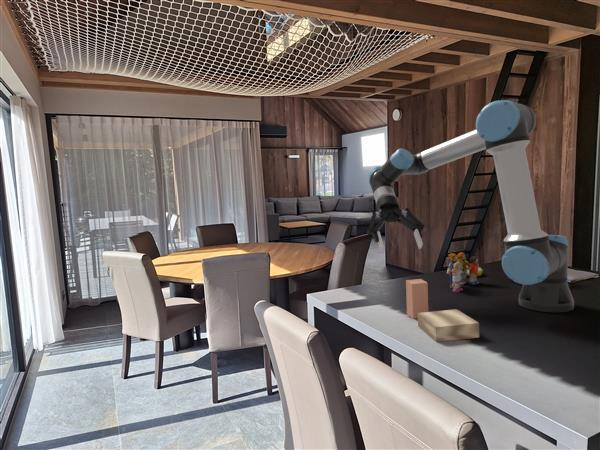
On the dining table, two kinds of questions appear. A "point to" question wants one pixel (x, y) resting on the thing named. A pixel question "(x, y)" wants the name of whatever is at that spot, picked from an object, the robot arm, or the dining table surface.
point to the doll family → (461, 270)
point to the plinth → (448, 325)
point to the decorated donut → (476, 274)
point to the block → (416, 297)
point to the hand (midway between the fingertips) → (401, 247)
